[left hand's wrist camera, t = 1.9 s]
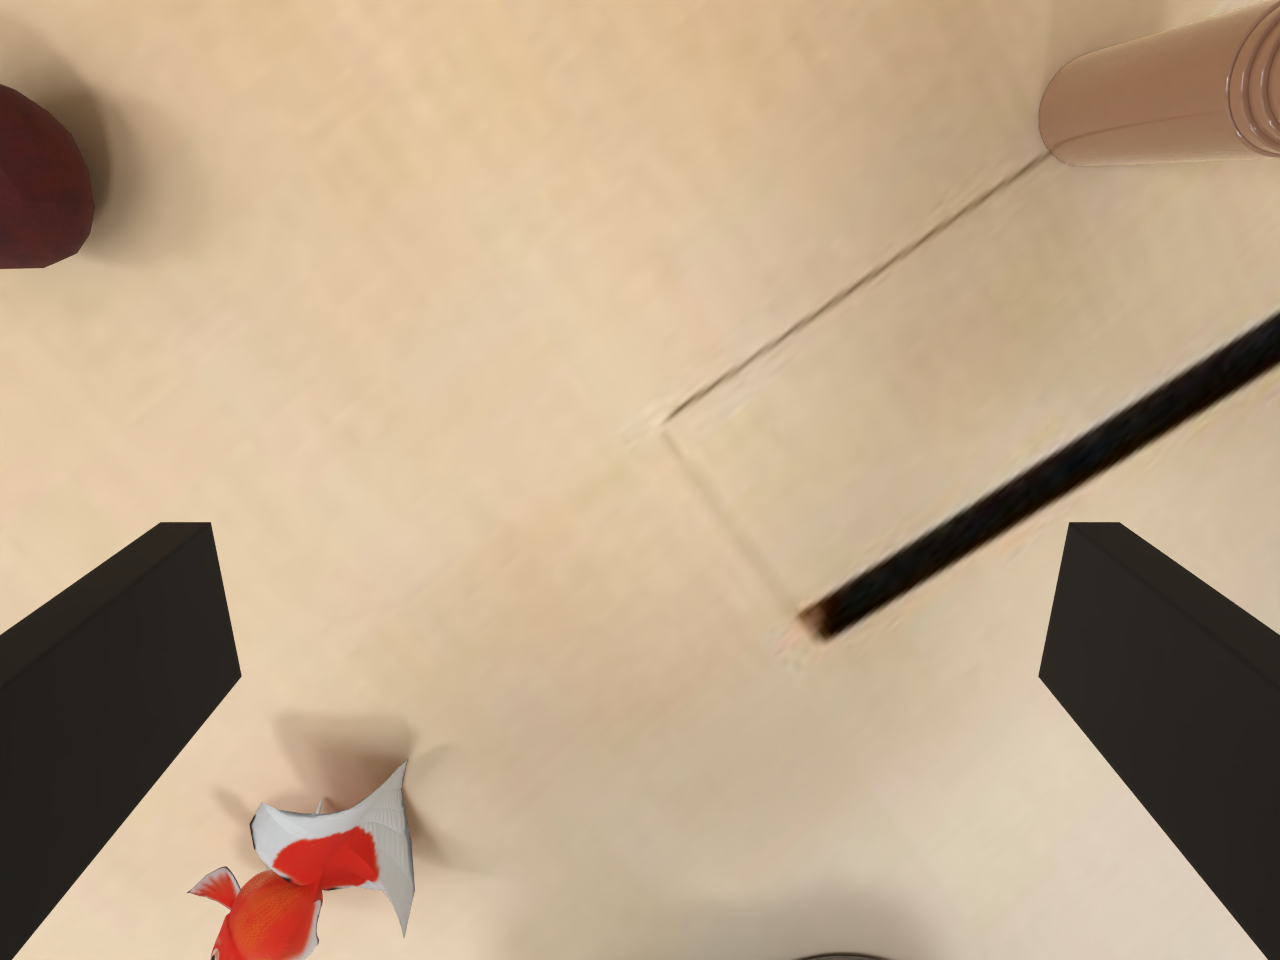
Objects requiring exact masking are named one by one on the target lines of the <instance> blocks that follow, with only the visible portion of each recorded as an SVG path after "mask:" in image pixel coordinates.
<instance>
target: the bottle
mask: <svg viewBox="0 0 1280 960" xmlns="http://www.w3.org/2000/svg"><path fill="white" fill-rule="evenodd" d="M1039 127H1040V132H1041V136H1042V139H1043V141H1044V143H1045V145H1046V147H1047V148H1048V150H1049V151H1050V152H1051V153H1052V154H1053V155H1054V156H1055V157H1056V158H1057V159H1059V160H1060V161H1062V162H1064V163H1067V164H1069V165H1074V166H1106V165H1130V164H1154V163H1178V162H1201V161H1225V160H1249V159H1273V158H1280V0H1267V1H1263V2H1260V3H1256V4H1253V5H1250V6H1246V7H1243V8H1239V9H1236V10H1233V11H1229V12H1226V13H1222V14H1219V15H1216V16H1212V17H1209V18H1206V19H1202V20H1199V21H1195V22H1192V23H1189V24H1185V25H1182V26H1178V27H1175V28H1172V29H1168V30H1165V31H1161V32H1158V33H1155V34H1151V35H1148V36H1144V37H1141V38H1138V39H1134V40H1131V41H1127V42H1124V43H1121V44H1117V45H1114V46H1110V47H1107V48H1104V49H1100V50H1097V51H1093V52H1090V53H1087V54H1084V55H1082V56H1079V57H1078V58H1076V59H1074V60H1072V61H1071V62H1069V63H1068V64H1067V65H1065V66H1064V67H1063V68H1062V69H1061V70H1060V71H1059V72H1058V73H1057V74H1056V75H1055V77H1054V78H1053V80H1052V81H1051V82H1050V84H1049V86H1048V88H1047V89H1046V92H1045V94H1044V96H1043V99H1042V102H1041V107H1040V113H1039Z"/></svg>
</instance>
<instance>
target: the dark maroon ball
mask: <svg viewBox="0 0 1280 960" xmlns="http://www.w3.org/2000/svg"><path fill="white" fill-rule="evenodd" d="M94 207H95V206H94V200H93V195H92V189H91V183H90V177H89V172H88V168H87V166H86V164H85V162H84V160H83V158H82V156H81V154H80V151H79V149H78V147H77V145H76V143H75V141H74V139H73V137H72V135H71V134H70V133H69V132H68V131H67V130H66V129H65V128H64V127H63V126H62V125H61V124H60V123H59V122H58V121H57V120H56V119H55V118H54V117H53V116H52V115H51V114H50V113H49V112H48V111H46V110H45V109H43V108H42V107H40V106H39V105H37V104H36V103H34V102H33V101H31V100H30V99H28V98H27V97H25V96H24V95H22V94H21V93H19V92H18V91H16V90H14V89H12V88H9V87H6V86H4V85H1V84H0V269H17V268H45V267H47V266H49V265H52V264H54V263H56V262H59V261H61V260H63V259H65V258H68V257H70V256H72V255H74V254H76V253H77V252H78V251H79V249H80V248H81V246H82V245H83V243H84V242H85V240H86V239H87V237H88V236H89V234H90V231H91V225H92V219H93V213H94Z"/></svg>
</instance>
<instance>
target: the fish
mask: <svg viewBox="0 0 1280 960" xmlns="http://www.w3.org/2000/svg"><path fill="white" fill-rule="evenodd" d="M407 761H408V759H407V760H406V761H405V762H404V763H403V764H402V765H400V766H399V767H398V768H397V769H396V771H395V772H394V773H393V774H392V775H391V776H390V777H389V778H388V779H387V780H386V781H385V782H384V783H383V784H382V785H381V786H380V787H379V788H378V789H377V790H375V791H374V792H373V793H371V794H370V795H369V796H368V797H366V798H365V799H363V800H362V801H361V802H359V803H358V804H356V805H355V806H354V807H352V808H351V809H349V810H344V811H339V812H335V813H330V814H320V809H321V804H322V800H320V803H319V805H318V808H317V811H316V813H315V814H301V813H295V812H289V811H282V810H278V809H275V808H273V807H271V806H269V805H267V804H265V803H263V802H262V803H261V805H260V807H259V809H258V810H257V812H256V814H255V816H254V817H253V819H252V821H251V823H250V829H251V835H252V840H253V846H254V849H255V851H256V852H257V854H258V855H259V857H260V858H261V860H262V861H263V862H264V863H265V864H267V867H266V869H265V871H264V872H261V873H259V874H257V875H256V876H254V877H253V878H252V879H250V880H249V881H248V882H247V883H246V884H245V885H244V886H243V887H242V889H240V887H239V884H238V882H237V880H236V878H235V877H234V875H233V874H232V872H231V871H230V870H229V869H228V868H227V867H221V868H219V869H217V870H215V871H213V872H211V873H209V874H208V875H206V876H205V877H204V878H203V879H202V880H201V881H200V882H199V883H198V884H197V885H196V886H195V887H194V888H192V889H191V890H190V891H189V892H188V893H192V894H195V895H198V896H204V897H207V898H209V899H211V900H215V901H217V902H219V903H221V904H222V905H224V906H225V907H227V908H228V909H230V910H231V911H230V913H229V914H228V915H226V917H225V919H224V922H223V925H222V927H221V930H220V933H219V935H218V937H217V940H216V942H215V945H214V948H213V951H212V954H211V960H304V959H306V958H307V957H308V956H309V955H310V954H311V953H312V951H313V950H314V949H315V948H316V946H317V945H318V943H319V939H318V937H317V932H316V928H317V921H318V917H319V913H320V909H321V906H322V902H323V896H322V890H327V891H329V890H335V889H342V888H349V887H356V886H357V887H362V888H368V889H376V890H381V891H382V892H383V893H384V894H385V895H386V896H387V897H388V899H389V900H390V902H391V903H392V905H393V907H394V909H395V911H396V914H397V916H398V918H399V921H400V924H401V927H402V932H403V937H405V932H406V928H407V923H408V919H409V914H410V910H411V905H412V900H413V896H414V891H415V885H414V872H413V858H412V845H411V838H410V833H409V828H408V823H407V817H406V812H405V806H404V800H403V794H402V784H403V779H404V774H405V768H406V764H407Z"/></svg>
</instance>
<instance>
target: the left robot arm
mask: <svg viewBox="0 0 1280 960" xmlns="http://www.w3.org/2000/svg"><path fill="white" fill-rule="evenodd" d="M241 677H242V676H241V671H240V666H239V661H238V656H237V651H236V646H235V641H234V636H233V631H232V626H231V621H230V616H229V611H228V606H227V601H226V596H225V591H224V586H223V581H222V576H221V571H220V566H219V561H218V556H217V551H216V546H215V541H214V536H213V531H212V526H211V522H160V523H159V524H158V525H156V526H155V527H153V528H152V529H150V530H149V531H148V532H146V533H145V534H143V535H142V536H141V537H139V538H138V539H136V540H135V541H133V542H132V543H131V544H129V545H128V546H126V547H125V548H123V549H122V550H121V551H119V552H118V553H116V554H115V555H114V556H112V557H111V558H109V559H108V560H106V561H105V562H104V563H102V564H101V565H99V566H98V567H96V568H95V569H94V570H92V571H91V572H89V573H88V574H86V575H85V576H84V577H82V578H81V579H79V580H78V581H77V582H75V583H74V584H72V585H71V586H69V587H68V588H67V589H65V590H64V591H62V592H61V593H59V594H58V595H57V596H55V597H54V598H52V599H51V600H50V601H48V602H47V603H45V604H44V605H42V606H41V607H40V608H38V609H37V610H35V611H34V612H32V613H31V614H30V615H28V616H27V617H25V618H24V619H23V620H21V621H20V622H18V623H17V624H15V625H14V626H13V627H11V628H10V629H8V630H7V631H5V632H4V633H3V634H1V635H0V960H12V959H13V958H14V956H15V955H16V954H17V953H18V952H19V950H20V949H21V948H22V947H23V945H24V944H25V943H26V942H27V940H28V939H29V938H30V937H31V936H32V934H33V933H34V932H35V931H36V929H37V928H38V927H39V926H40V924H41V923H42V922H43V921H44V919H45V918H46V917H47V916H48V915H49V913H50V912H51V911H52V910H53V908H54V907H55V906H56V905H57V903H58V902H59V901H60V900H61V899H62V897H63V896H64V895H65V894H66V892H67V891H68V890H69V889H70V887H71V886H72V885H73V884H74V882H75V881H76V880H77V879H78V878H79V876H80V875H81V874H82V873H83V871H84V870H85V869H86V868H87V866H88V865H89V864H90V863H91V862H92V860H93V859H94V858H95V857H96V855H97V854H98V853H99V852H100V850H101V849H102V848H103V847H104V845H105V844H106V843H107V842H108V841H109V839H110V838H111V837H112V836H113V834H114V833H115V832H116V831H117V829H118V828H119V827H120V826H121V825H122V823H123V822H124V821H125V820H126V818H127V817H128V816H129V815H130V813H131V812H132V811H133V810H134V808H135V807H136V806H137V805H138V804H139V802H140V801H141V800H142V799H143V797H144V796H145V795H146V794H147V792H148V791H149V790H150V789H151V788H152V786H153V785H154V784H155V783H156V781H157V780H158V779H159V778H160V776H161V775H162V774H163V773H164V771H165V770H166V769H167V768H168V767H169V765H170V764H171V763H172V762H173V760H174V759H175V758H176V757H177V755H178V754H179V753H180V752H181V751H182V749H183V748H184V747H185V746H186V744H187V743H188V742H189V741H190V739H191V738H192V737H193V736H194V734H195V733H196V732H197V731H198V730H199V728H200V727H201V726H202V725H203V723H204V722H205V721H206V720H207V718H208V717H209V716H210V715H211V714H212V712H213V711H214V710H215V709H216V707H217V706H218V705H219V704H220V702H221V701H222V700H223V699H224V697H225V696H226V695H227V694H228V693H229V691H230V690H231V689H232V688H233V686H234V685H235V684H236V683H237V681H238V680H239V679H240V678H241ZM1038 677H1039V678H1040V679H1041V680H1042V681H1043V683H1044V684H1045V685H1046V686H1047V688H1048V689H1049V690H1050V691H1051V693H1052V694H1053V695H1054V696H1055V697H1056V699H1057V700H1058V701H1059V702H1060V704H1061V705H1062V706H1063V707H1064V709H1065V710H1066V711H1067V712H1068V714H1069V715H1070V716H1071V717H1072V718H1073V720H1074V721H1075V722H1076V723H1077V725H1078V726H1079V727H1080V728H1081V730H1082V731H1083V732H1084V733H1085V734H1086V736H1087V737H1088V738H1089V739H1090V741H1091V742H1092V743H1093V744H1094V746H1095V747H1096V748H1097V749H1098V751H1099V752H1100V753H1101V754H1102V755H1103V757H1104V758H1105V759H1106V760H1107V762H1108V763H1109V764H1110V765H1111V767H1112V768H1113V769H1114V770H1115V771H1116V773H1117V774H1118V775H1119V776H1120V778H1121V779H1122V780H1123V781H1124V783H1125V784H1126V785H1127V786H1128V788H1129V789H1130V790H1131V791H1132V792H1133V794H1134V795H1135V796H1136V797H1137V799H1138V800H1139V801H1140V802H1141V804H1142V805H1143V806H1144V807H1145V808H1146V810H1147V811H1148V812H1149V813H1150V815H1151V816H1152V817H1153V818H1154V820H1155V821H1156V822H1157V823H1158V825H1159V826H1160V827H1161V828H1162V829H1163V831H1164V832H1165V833H1166V834H1167V836H1168V837H1169V838H1170V839H1171V841H1172V842H1173V843H1174V844H1175V845H1176V847H1177V848H1178V849H1179V850H1180V852H1181V853H1182V854H1183V855H1184V857H1185V858H1186V859H1187V860H1188V862H1189V863H1190V864H1191V865H1192V866H1193V868H1194V869H1195V870H1196V871H1197V873H1198V874H1199V875H1200V876H1201V878H1202V879H1203V880H1204V881H1205V882H1206V884H1207V885H1208V886H1209V887H1210V889H1211V890H1212V891H1213V892H1214V894H1215V895H1216V896H1217V897H1218V899H1219V900H1220V901H1221V902H1222V903H1223V905H1224V906H1225V907H1226V908H1227V910H1228V911H1229V912H1230V913H1231V915H1232V916H1233V917H1234V918H1235V919H1236V921H1237V922H1238V923H1239V924H1240V926H1241V927H1242V928H1243V929H1244V931H1245V932H1246V933H1247V934H1248V936H1249V937H1250V938H1251V939H1252V940H1253V942H1254V943H1255V944H1256V945H1257V947H1258V948H1259V949H1260V950H1261V952H1262V953H1263V954H1264V955H1265V956H1266V958H1267V959H1268V960H1280V635H1279V634H1277V633H1276V632H1275V631H1273V630H1272V629H1270V628H1269V627H1267V626H1266V625H1265V624H1263V623H1262V622H1260V621H1259V620H1257V619H1256V618H1255V617H1253V616H1252V615H1250V614H1249V613H1248V612H1246V611H1245V610H1243V609H1242V608H1240V607H1239V606H1238V605H1236V604H1235V603H1233V602H1232V601H1230V600H1229V599H1228V598H1226V597H1225V596H1223V595H1222V594H1221V593H1219V592H1218V591H1216V590H1215V589H1213V588H1212V587H1211V586H1209V585H1208V584H1206V583H1205V582H1203V581H1202V580H1201V579H1199V578H1198V577H1196V576H1195V575H1194V574H1192V573H1191V572H1189V571H1188V570H1186V569H1185V568H1184V567H1182V566H1181V565H1179V564H1178V563H1176V562H1175V561H1174V560H1172V559H1171V558H1169V557H1168V556H1166V555H1165V554H1164V553H1162V552H1161V551H1159V550H1158V549H1157V548H1155V547H1154V546H1152V545H1151V544H1149V543H1148V542H1147V541H1145V540H1144V539H1142V538H1141V537H1139V536H1138V535H1137V534H1135V533H1134V532H1132V531H1131V530H1130V529H1128V528H1127V527H1125V526H1124V525H1122V524H1121V523H1120V522H1069V526H1068V531H1067V536H1066V541H1065V546H1064V551H1063V556H1062V561H1061V566H1060V571H1059V576H1058V581H1057V586H1056V591H1055V596H1054V601H1053V606H1052V611H1051V616H1050V621H1049V626H1048V631H1047V636H1046V641H1045V646H1044V651H1043V656H1042V661H1041V666H1040V671H1039V676H1038ZM807 960H876V959H871V958H866V957H858V956H827V957H818V958H813V959H807Z"/></svg>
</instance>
